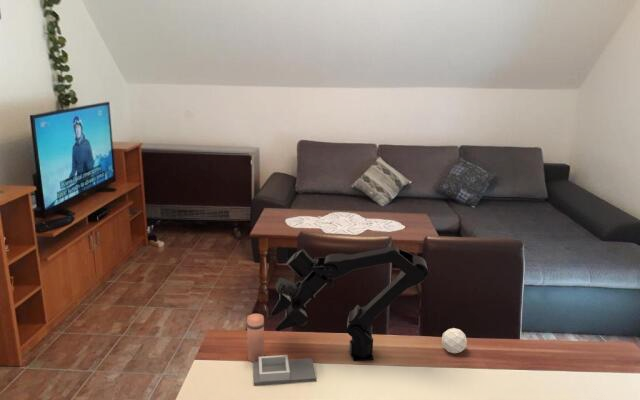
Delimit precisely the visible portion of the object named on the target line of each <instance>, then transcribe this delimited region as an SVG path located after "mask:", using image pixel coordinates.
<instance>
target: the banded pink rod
mask: <svg viewBox="0 0 640 400" xmlns="http://www.w3.org/2000/svg"><path fill="white" fill-rule="evenodd" d="M246 320H247V321H246V327H247V328H246V329H247V330H246V331H247V359H248V360H247V361H249V362H250V363H253V362H259V357H263V356H265V316H264V315H263V314H261V313H251V314H250V315H247V317H246Z"/></svg>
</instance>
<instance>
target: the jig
mask: <svg viewBox="0 0 640 400" xmlns="http://www.w3.org/2000/svg"><path fill="white" fill-rule="evenodd" d="M288 357H289V356H288V354H282V355H280V354H279V355H266V356H265V355H264V356H263V357H259V362H252V365H253V366H252V370H253V371H252V373H253V374H252V376H253V379H252V380H253V386H255V387H256V386H266V385H283V384H294V383H295V384H296V383H297V384H298V383H308V382H309V383H313V382H317V376H316V375H317V374H316V371H315V366H314V361H313V358H312V357H309V358H295V359H294V358H293V359H289V358H288Z"/></svg>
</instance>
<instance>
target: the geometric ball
mask: <svg viewBox="0 0 640 400" xmlns="http://www.w3.org/2000/svg"><path fill="white" fill-rule="evenodd" d="M441 337H442V338H441V343H442V347H443V348H444V350H446V352H449V353H451V354H458V353H461V352H462V351H464V350H465V349H466V347H467V343H468V341H467V336H466V334H465V333H464V332H463V331H462V330H461V329H459V328H455V327H452V328H448V329H447V330H446V331H444V332H443V333H442V336H441Z"/></svg>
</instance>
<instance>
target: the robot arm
mask: <svg viewBox="0 0 640 400" xmlns="http://www.w3.org/2000/svg"><path fill="white" fill-rule="evenodd" d="M385 264H386V265H387V264H392V265H394V266H396V267H397V268H398V269H399V270H400V271H399V274H398V276H396V278H394V279H393V280H392V281H391V282H390V283H389V284H388V285H386V287H385V288H383V289H382V290H381V292H379V293H378V294H377V295H376V296H375V297H374V298H372V299H371V301H370V302H368V303H367V304H366V305H364V306H362V307H361V306H360V305H359V304H357V305H355V307H354V308H353V309H352V310H350V311H349V312H348V313H349V314H348V317H347V322H346V323H347V325H346V333H347V334H348V335H349V336H350V337H351V339H350V340H349V345H348V346H349V347H348V349H349V354H350V356H351V358H352V360H353V362H356V361H357V362H359V361H360V362H361V361H373V360H374V359H375V358H374V355H373V353H374V352H373V348H374V338H373V325H372V323H373V322H374V320H375V319H376V318H377V317H378V316H379V315H380V314H381V313H382V312H383V311H385V310H386V309H387V308H388V307H389V306H390V305H391V304H392V303H393V302H394V301H396V300H397V299H398V298H399V297H400V296H401V295H402V294H403V293H404V292H406V291H407V290H408V289H411V288H413V287H416V286H418V285H420V284H421V283H422V282H424V281H425V280H427V278H428V277H429V276H428V275H429V269H428V266H427V261H426V260H425V259H424V258H423V257H422V256H419V255H414V254H412V253H411V252H410V251H406V250H403V249H401V248H399V247H398V246H396V245H391V246H387V247H384V248H379V249H372V250H368V251H363V252H359V253H353V254H347V253H346V254H345V253H330V254H328V255H326V256H320V257H319V256H317V257H314V259H313V258H312V257H311V256H310V255H309V254H308V253H307V251H306V250H305V249H304V248H302V249H301V250H299V251H297V252H295V253H293V255H291V257H290V258H289V259H288V261H287V262H286V265H287V266H288V267H289V268H290V269H291V270H292V271H293V272H294V273H295V274H296V275H297V277H301V278H304V279H303V280H302V281H301V280H300V279H299V280H297V281H296V282H293V281H291V280H289V279H286V278H283V277H279V278H278V280H277V282H276V284H275V286H274V287H275V289H276V292H277V294H279V298H278V300H277V302H276V304H275V305H274V306H273V309H272V310H271V313H270V315H271V316H272V317H274V316H276V315H278V314H279V313H282V312H283V311H284V310H285V314H284V315H285V316H284V317H283V318H282V319H281V320H280V322H279V323H278V324H277V325H276V327H274V328H275V331H277V332H280V331H282V330H286V329H288V328H291V327H296V326H299V327H300V326H302V327H303V326H305V325H306V324H307V323H308V319H309V318H308V314H307V312H306V311H305V309H306V308H307V306H306V304H307V303H309V302H310V301H311V300H312V301H315V300H316V295H317V294H318V293H319V292H320V291H321V290H322V289H323V288H324V287H325V286H326V285H328V286H329V288H333V287H334V279H338V278H341V277H343V276H345V275H347V274H349V273H350V272H352V271H353V272H354V271H355V270H361V269H366V268H371V267H375V266H376V267H377V266H380V265H385Z"/></svg>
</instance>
